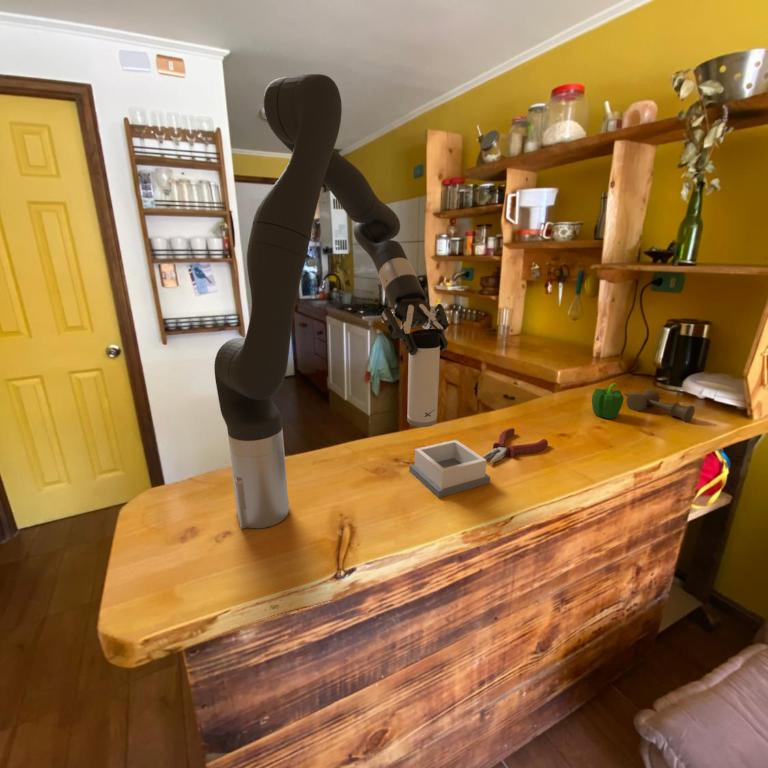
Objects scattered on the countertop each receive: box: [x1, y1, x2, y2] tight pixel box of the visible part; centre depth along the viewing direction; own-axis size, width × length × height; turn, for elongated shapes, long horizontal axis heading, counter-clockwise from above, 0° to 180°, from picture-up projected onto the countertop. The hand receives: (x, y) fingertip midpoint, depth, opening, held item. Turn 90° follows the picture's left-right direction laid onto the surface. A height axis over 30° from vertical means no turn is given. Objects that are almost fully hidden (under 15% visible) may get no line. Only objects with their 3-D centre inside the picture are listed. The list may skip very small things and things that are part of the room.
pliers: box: [481, 427, 549, 464], centre depth 103 cm, size 12×20×3 cm, turn 132°
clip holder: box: [408, 439, 491, 499], centre depth 90 cm, size 13×12×6 cm
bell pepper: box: [591, 382, 624, 420], centre depth 124 cm, size 8×8×10 cm
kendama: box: [623, 389, 696, 423], centre depth 128 cm, size 6×10×20 cm
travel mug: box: [406, 328, 443, 428], centre depth 85 cm, size 6×7×20 cm
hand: (429, 350), depth 82 cm, fingers closed on travel mug, 6 cm apart
